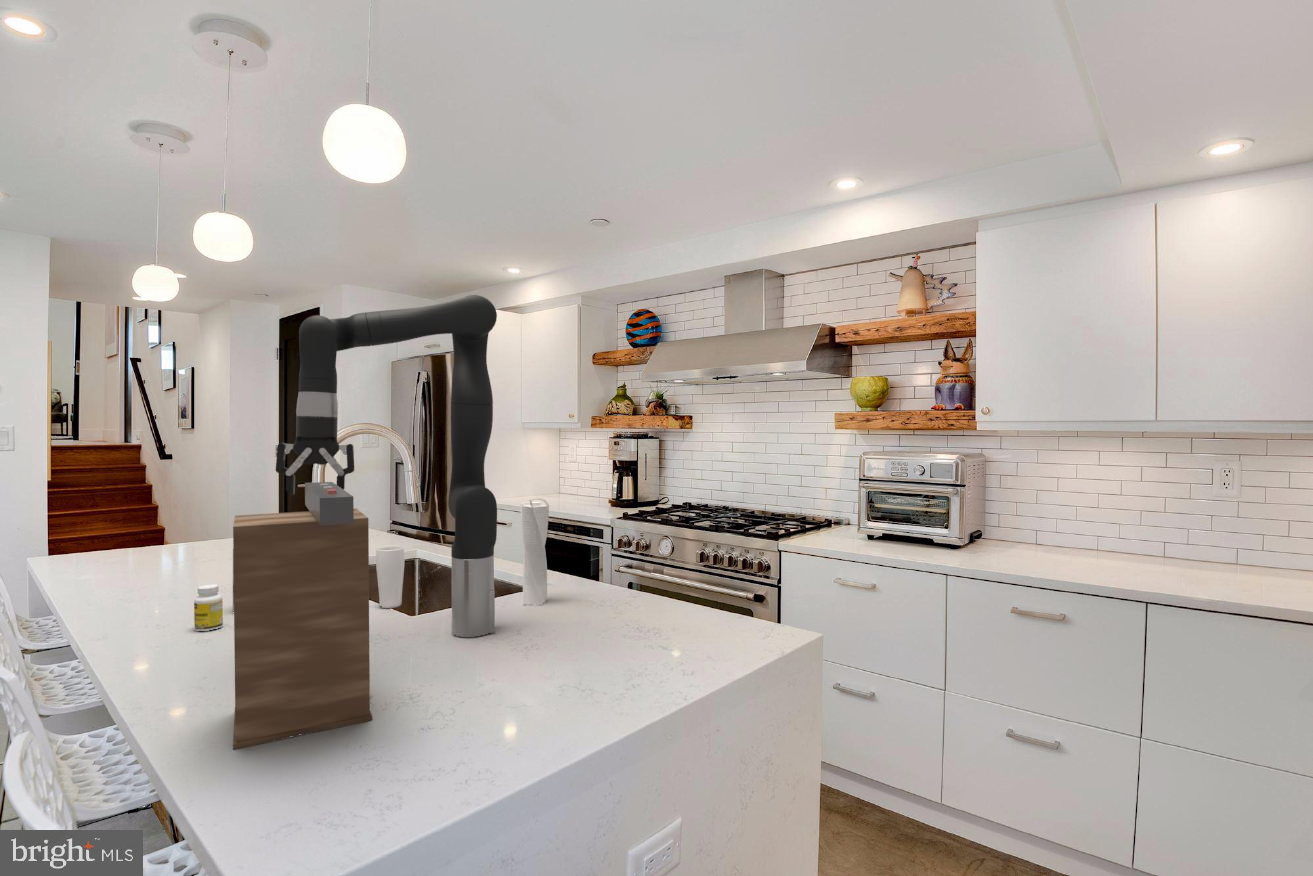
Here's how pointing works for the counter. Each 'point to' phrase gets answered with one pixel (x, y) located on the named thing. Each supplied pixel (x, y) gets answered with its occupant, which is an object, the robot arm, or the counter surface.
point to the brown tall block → (299, 625)
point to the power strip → (329, 503)
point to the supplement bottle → (208, 608)
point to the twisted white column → (534, 551)
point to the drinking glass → (390, 575)
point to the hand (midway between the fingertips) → (315, 494)
